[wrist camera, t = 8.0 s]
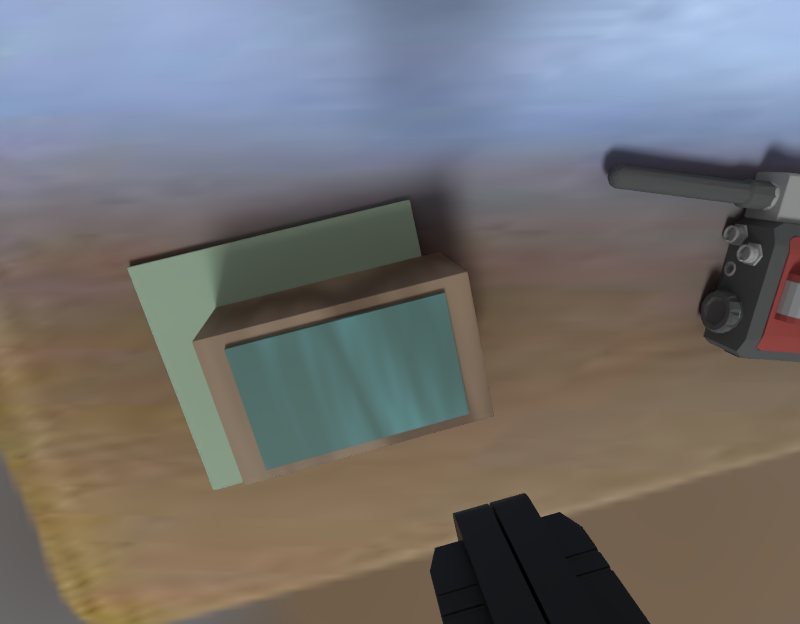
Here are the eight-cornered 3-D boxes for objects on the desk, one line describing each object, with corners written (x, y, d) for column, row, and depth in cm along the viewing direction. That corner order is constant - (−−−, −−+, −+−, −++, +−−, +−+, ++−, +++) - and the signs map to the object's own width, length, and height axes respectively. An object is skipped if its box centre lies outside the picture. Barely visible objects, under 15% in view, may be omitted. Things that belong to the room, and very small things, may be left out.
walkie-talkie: (950, 199, 27) (599, 149, 24) (1064, 206, 23) (659, 147, 20) (889, 356, 30) (561, 332, 26) (983, 389, 25) (607, 366, 22)
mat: (408, 199, 23) (409, 199, 22) (455, 419, 26) (456, 422, 26) (129, 266, 22) (127, 268, 21) (214, 486, 25) (213, 490, 25)
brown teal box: (468, 272, 19) (190, 343, 18) (495, 418, 21) (243, 488, 20) (439, 251, 23) (215, 307, 22) (463, 372, 25) (257, 428, 24)
